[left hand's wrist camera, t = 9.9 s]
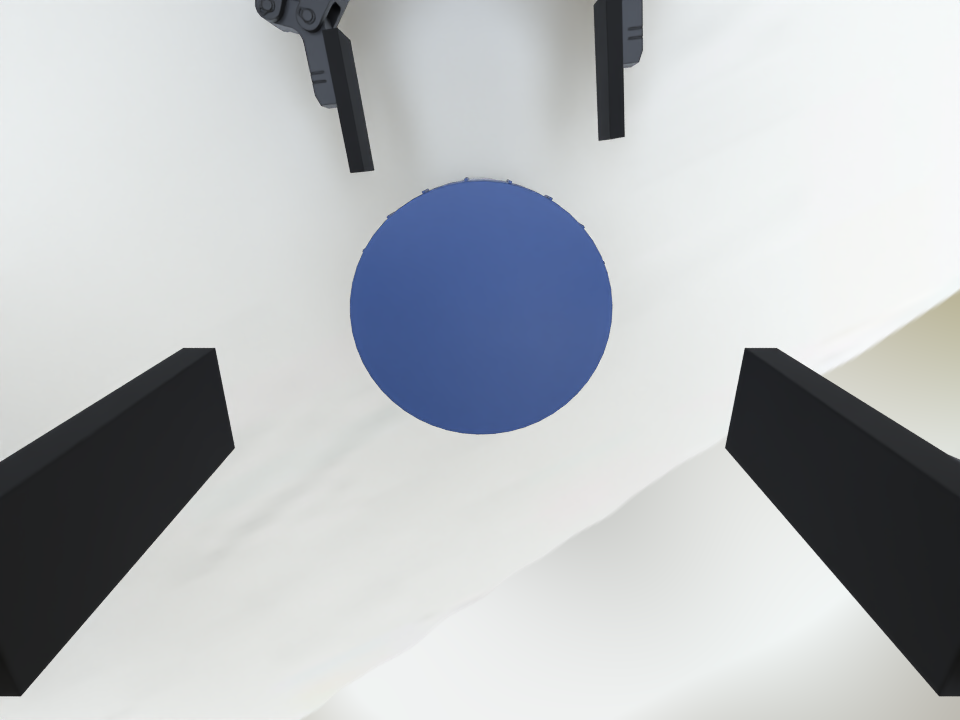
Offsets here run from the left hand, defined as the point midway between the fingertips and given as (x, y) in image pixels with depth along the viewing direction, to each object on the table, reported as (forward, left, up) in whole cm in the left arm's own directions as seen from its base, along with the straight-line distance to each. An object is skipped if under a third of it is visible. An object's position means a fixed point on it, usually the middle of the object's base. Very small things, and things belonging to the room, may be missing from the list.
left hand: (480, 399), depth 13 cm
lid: (0, 0, -7) cm, 7 cm away
